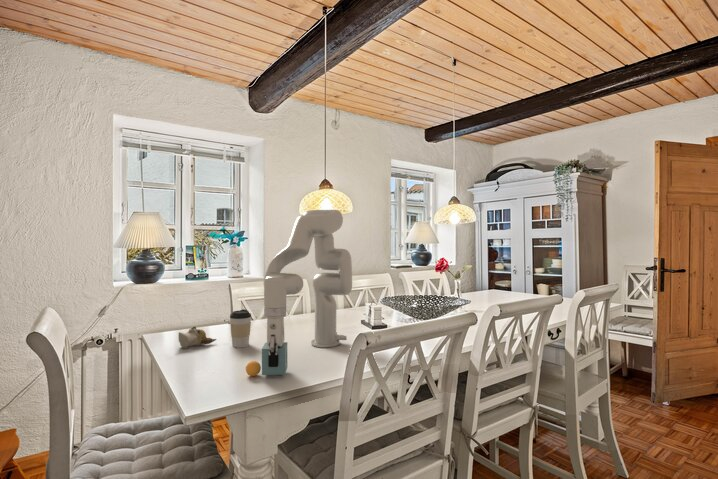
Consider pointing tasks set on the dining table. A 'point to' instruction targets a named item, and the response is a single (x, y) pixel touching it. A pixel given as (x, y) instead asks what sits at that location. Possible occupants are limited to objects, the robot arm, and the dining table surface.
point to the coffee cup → (240, 328)
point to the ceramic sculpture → (194, 338)
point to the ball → (253, 368)
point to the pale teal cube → (281, 360)
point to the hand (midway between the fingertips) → (275, 362)
